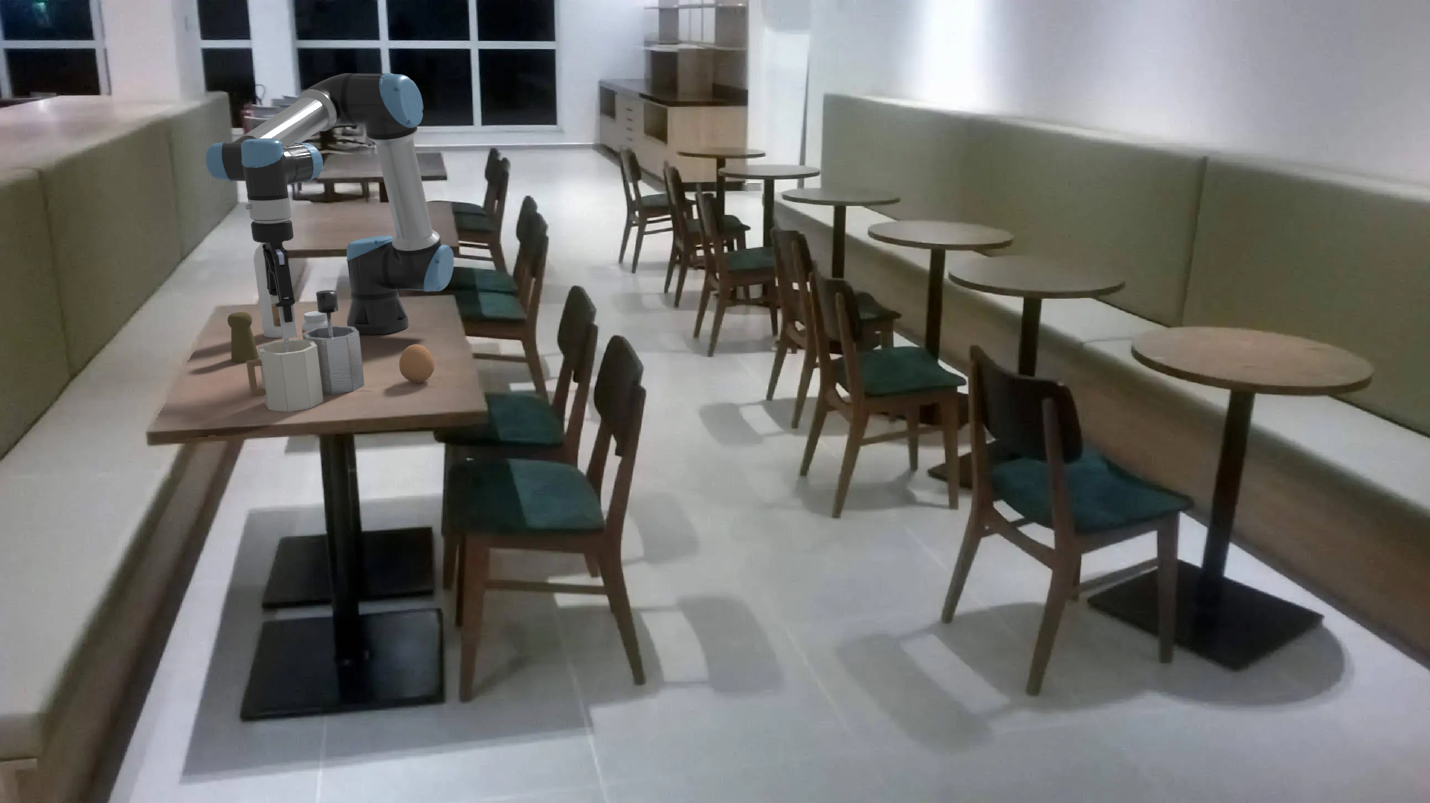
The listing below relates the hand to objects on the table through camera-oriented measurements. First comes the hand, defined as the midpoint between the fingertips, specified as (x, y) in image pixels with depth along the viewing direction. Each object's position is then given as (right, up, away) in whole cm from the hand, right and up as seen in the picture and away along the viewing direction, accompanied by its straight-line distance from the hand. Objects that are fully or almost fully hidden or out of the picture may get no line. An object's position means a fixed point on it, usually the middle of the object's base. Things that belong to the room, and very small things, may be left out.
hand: (285, 331), depth 222 cm
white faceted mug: (-1, -15, +4) cm, 15 cm away
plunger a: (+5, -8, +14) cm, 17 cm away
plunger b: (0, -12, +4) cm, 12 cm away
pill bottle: (-6, -4, +35) cm, 35 cm away
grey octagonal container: (+4, -11, +15) cm, 19 cm away
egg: (+22, -10, +18) cm, 30 cm away
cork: (-23, -4, +35) cm, 42 cm away
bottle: (-23, +3, +56) cm, 60 cm away
